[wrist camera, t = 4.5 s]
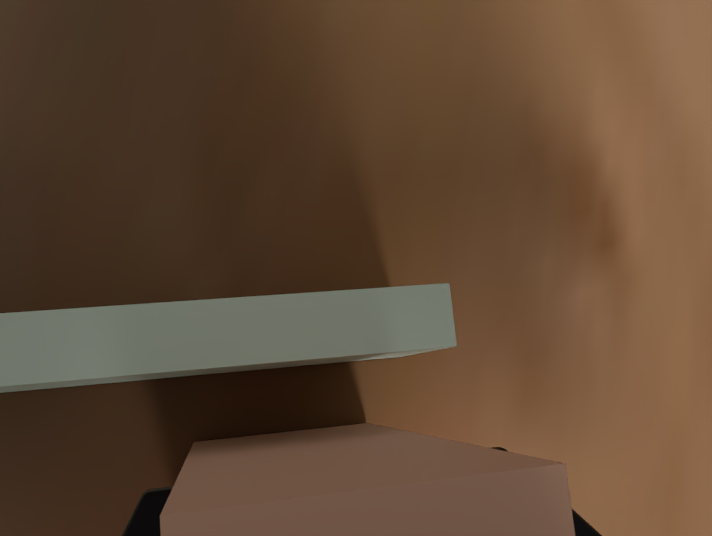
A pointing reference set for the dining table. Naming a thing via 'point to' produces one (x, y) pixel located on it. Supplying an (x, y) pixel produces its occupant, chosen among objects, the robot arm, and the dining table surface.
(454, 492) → the terracotta block
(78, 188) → the dining table surface
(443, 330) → the bar
